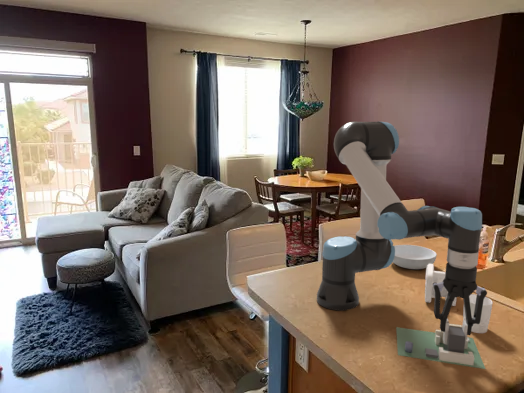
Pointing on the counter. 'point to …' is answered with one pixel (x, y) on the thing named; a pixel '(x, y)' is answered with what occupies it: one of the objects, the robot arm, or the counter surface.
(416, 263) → the serving bowl
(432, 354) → the board
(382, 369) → the counter surface
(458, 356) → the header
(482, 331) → the white cup
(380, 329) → the counter surface
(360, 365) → the counter surface
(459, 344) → the plug
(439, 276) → the cable organizer
